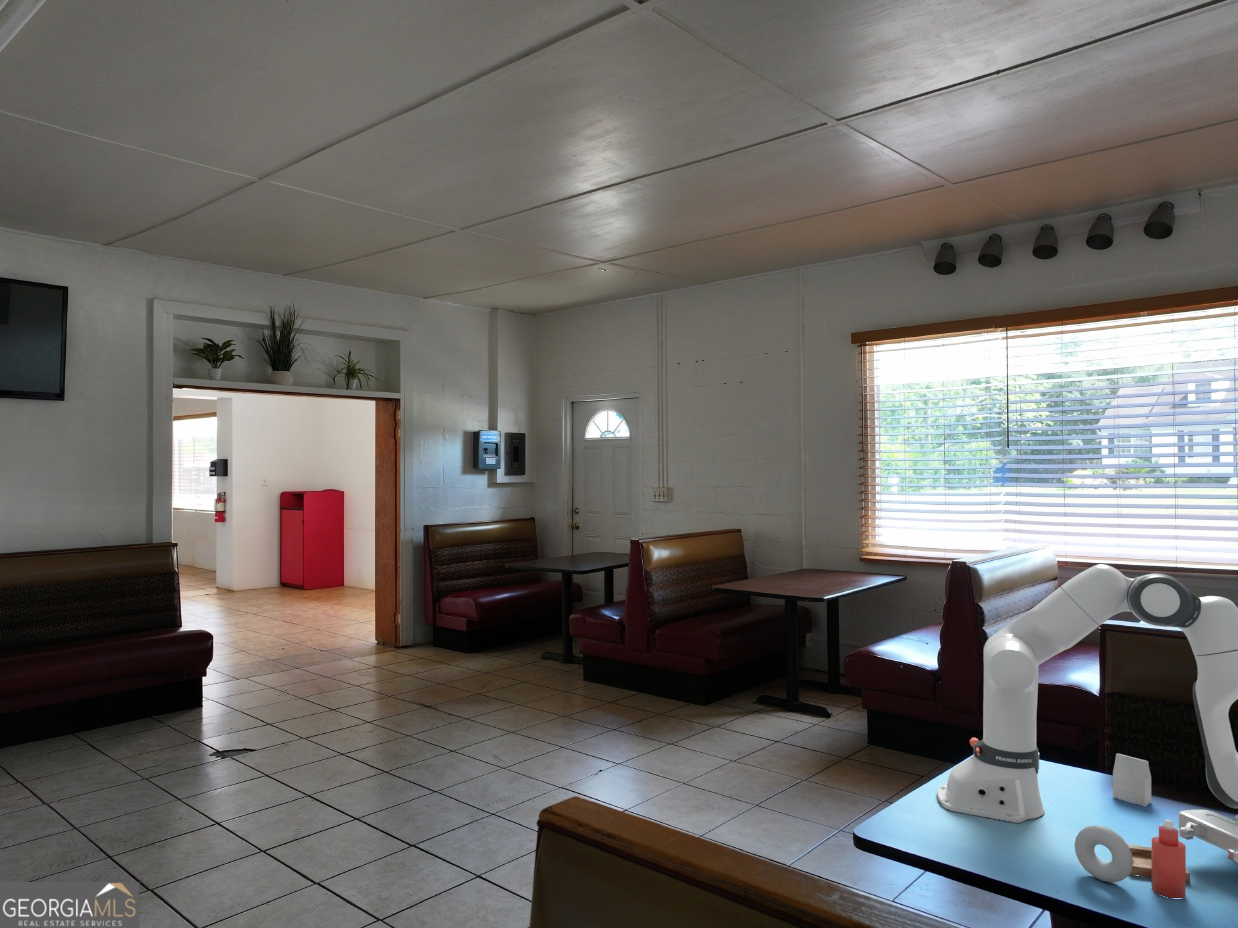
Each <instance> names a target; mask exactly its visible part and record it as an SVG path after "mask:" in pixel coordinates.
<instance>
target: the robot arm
mask: <svg viewBox="0 0 1238 928" xmlns="http://www.w3.org/2000/svg"><path fill="white" fill-rule="evenodd" d="M1123 612H1129V613H1130V614H1133V615H1134V616H1135V617H1136V618H1137V619H1139V620H1140V621H1141V622H1143V623H1145V624H1148V625H1151V626H1156V627H1165V628H1167V627H1168V628H1169V627H1170V628H1178V629H1180V630H1181V631H1182V632H1183V633H1184V635H1185V636H1186V638H1187V640H1188V642H1189V645H1190V647H1191V650H1192V653H1193V655H1194V658H1195V659H1194V660H1195V661H1196V666H1197V678H1196V679H1197V680H1196V681H1194V683H1193V685H1192V701H1193V706H1194V711H1195V716H1196V721H1197V725H1198V730H1199V735H1200V740H1201V744H1202V748H1203V753H1204V758H1205V777H1206V778H1205V779H1206V783H1207V785H1208V788H1209V790H1210V791H1211V793H1212V794H1213V795H1214V797H1216V798H1217V799H1218V800H1219V802H1221V803H1222V804H1224V805H1225V806H1227V807H1229V808H1231V809H1238V752H1237V749H1236V745H1235V740H1234V736H1233V732H1232V728H1231V727H1232V726H1231V723H1230V718H1229V717H1230V716H1229V712H1230V709H1231V706H1232V705H1233V703H1235V702H1236V701H1237V700H1238V607H1237V605H1236V604H1235V603H1234V602H1233V601H1232V600H1230V599H1229V598H1226V597H1223V596H1216V595H1206V596H1200V597H1199V596H1197V595H1196V594H1195V592H1194V593H1193V592H1192V591H1191V590H1190V589H1189V588H1188V587H1187V586H1186V585H1184V584H1183V583H1182V582H1180V581H1179V580H1178V579H1176V578H1175V577H1173V576H1171V575H1169V574H1164V573H1157V572H1156V573H1147V574H1143V575H1140V576H1134V577H1130V578H1129V577H1127V576H1126V575H1124V574H1123V573H1122V572H1121V571H1120V570H1118V569H1117V568H1115V567H1113V566H1111V565H1107V564H1105V563H1104V564H1101V563H1100V564H1095V565H1093V566H1091V567H1089V568H1087V569H1085V570H1083V571H1081V572H1080V573H1078V574H1077V575H1075V576H1073V577H1072V578H1070V579H1068V580H1067V581H1066V582H1065V583H1063V584H1061V586H1059V587H1058V588H1057V589H1056V590H1055V591H1053V592H1051V594H1049V595H1048V596H1046V597H1045V598H1044V599H1043V600H1042V601H1040V602H1039V603H1038V604H1036V605H1035V606H1034V607H1033V608H1031V609H1029V610H1028V611H1027V612H1025V613H1023V614H1022V615H1020V616H1019V617H1017V618H1015V619H1014V620H1012V621H1011V622H1010V623H1008V624H1006V625H1005V626H1003V627H1002V628H1001V629H999V630H998V631H997V632H995V633H993V634H992V635H991V636H990V637H989V638H988V639H987V640H986V642H985V644H984V646H983V706H982V708H983V710H982V712H983V713H982V714H983V715H982V717H983V718H982V720H983V722H982V723H983V725H982V727H983V729H982V731H983V734H982V735H983V737H982V739H981V740H979V739H978V738H976V737H971V739H969V744H970V746H971V747H972V748H973V755H972V756H971V757H969V758H967V759H966V760H964V761H962V762H960V763H959V764H956V765H954V767H952V769H951V770H950V772H949V775H948V778H947V783H946V784H943V785H940V786H939V787H938V789H937V791H936V792H937V793H936V798H937V801H938V800H939V801H938V803H939V802H940V803H941V804H942V805H941V804H940V803H939V804H940V805H941V806H942V807H943V806H944V807H945V809H946V810H948V809H949V810H948V811H950V812H951V811H952V812H957V813H962V814H968V815H972V816H977V817H978V816H979V817H983V818H988V817H989V818H988V819H994V820H999V819H1000V821H1004V820H1005V822H1009V821H1011V822H1010V823H1015V824H1019V823H1023V822H1025V821H1027V820H1031V819H1036V818H1040V817H1041V816H1043V815H1044V814H1045V808H1044V806H1043V805H1044V804H1043V802H1042V801H1043V800H1042V798H1041V792H1040V787H1039V780H1038V778H1039V777H1038V774H1039V770H1040V752H1039V748H1038V746H1037V714H1038V713H1037V710H1038V695H1039V694H1038V693H1039V689H1038V688H1039V666H1040V665H1041V664H1043V663H1044V662H1046V661H1048V660H1049V659H1051V658H1053V657H1055V656H1056V655H1058V654H1060V653H1062V652H1064V651H1066V650H1069V649H1071V648H1072V647H1074V646H1075V645H1077V644H1078V643H1079V642H1080V641H1082V640H1083V639H1084V638H1085V637H1086V636H1088V635H1089V634H1091V633H1092V632H1093V631H1095V630H1096V629H1097V628H1098V627H1100V626H1102V624H1103V623H1105V622H1106V621H1108V620H1109V619H1111V618H1112V617H1113V616H1115V615H1117V614H1119V613H1123ZM944 807H943V808H944ZM1177 818H1178V819H1177V821H1178V829H1179V830H1178V836H1179V837H1180V838H1182V839H1186V840H1188V841H1190V840H1194V838H1197V839H1200V840H1202V841H1204V842H1206V843H1209V844H1211V845H1213V846H1215V847H1217V848H1219V849H1222V850H1224V851H1226V852H1227V859H1229V860H1231V861H1233V862H1235V863H1238V814H1236V815H1235V816H1234V819H1232V818H1230V817H1227V816H1225V815H1222V814H1220V813H1218V812H1215V811H1212V810H1208V809H1186V810H1185V809H1183V810H1180V811H1179V812H1178V817H1177Z"/></svg>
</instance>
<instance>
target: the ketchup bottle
mask: <svg viewBox="0 0 1238 928" xmlns="http://www.w3.org/2000/svg"><path fill="white" fill-rule="evenodd" d="M1151 848H1152V878H1151V887H1152V888H1151V891H1152V890H1153V891H1154V892H1153V891H1152V892H1153V893H1155V892H1156V893H1157V894H1156V893H1155V894H1156V895H1158V894H1160V895H1162V896H1165V897H1168V898H1167V899H1169V898H1184V897H1185V896H1186V889H1187V888H1186V887H1187V886H1186V885H1187V884H1186V869H1187V868H1186V867H1187V865H1186V861H1187V860H1186V857H1187V856H1186V854H1187V853H1186V849H1187V848H1186V845H1185V843H1183V842H1182V841H1180V840H1179V830H1178V829H1176V828H1175V827H1174V821H1173V820H1170V819H1163V825H1159V826H1158V836H1154V837H1152V838H1151ZM1160 895H1159V896H1160ZM1162 896H1161V897H1162ZM1165 897H1164V898H1165ZM1186 897H1187V896H1186ZM1186 897H1185V898H1186ZM1185 898H1184V899H1185Z"/></svg>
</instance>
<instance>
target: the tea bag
mask: <svg viewBox="0 0 1238 928" xmlns="http://www.w3.org/2000/svg"><path fill="white" fill-rule="evenodd" d="M1151 774H1152V773H1151V771H1150V765H1149V761H1148V760H1145V759H1141V758H1136V757H1132V756H1129V755H1125V754H1121V753H1116V754H1115V760H1114V765H1113V769H1112V798H1113V797H1116V798H1120V799H1122V800H1121V801H1123V800H1126V801H1128V802H1127V803H1130V802H1133V803H1135V804H1134V805H1136V804H1139V805H1138V806H1140V805H1142V806H1141V807H1143V806H1145V807H1147V806H1148V805H1147V804H1148V803H1150V802H1151V803H1152V775H1151ZM1116 798H1115V799H1116ZM1120 799H1119V800H1120ZM1126 801H1125V802H1126ZM1133 803H1132V804H1133ZM1151 803H1150V804H1151ZM1146 805H1147V806H1146Z"/></svg>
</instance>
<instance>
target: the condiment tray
mask: <svg viewBox="0 0 1238 928" xmlns="http://www.w3.org/2000/svg"><path fill="white" fill-rule="evenodd" d="M1128 846H1129V849H1130V851H1131V853H1132V857H1133V867H1132V871H1131V872H1130V874H1129V875H1128V876H1132V875H1139V876H1143V877H1142V878H1147V877H1151V878H1150V879H1152V846H1149V847H1148V846H1142V845H1134V844H1128ZM1139 876H1138V877H1139ZM1186 882H1188V883H1187V884H1191V873H1190V872H1189V870H1188V869H1187V868H1186Z"/></svg>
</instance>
